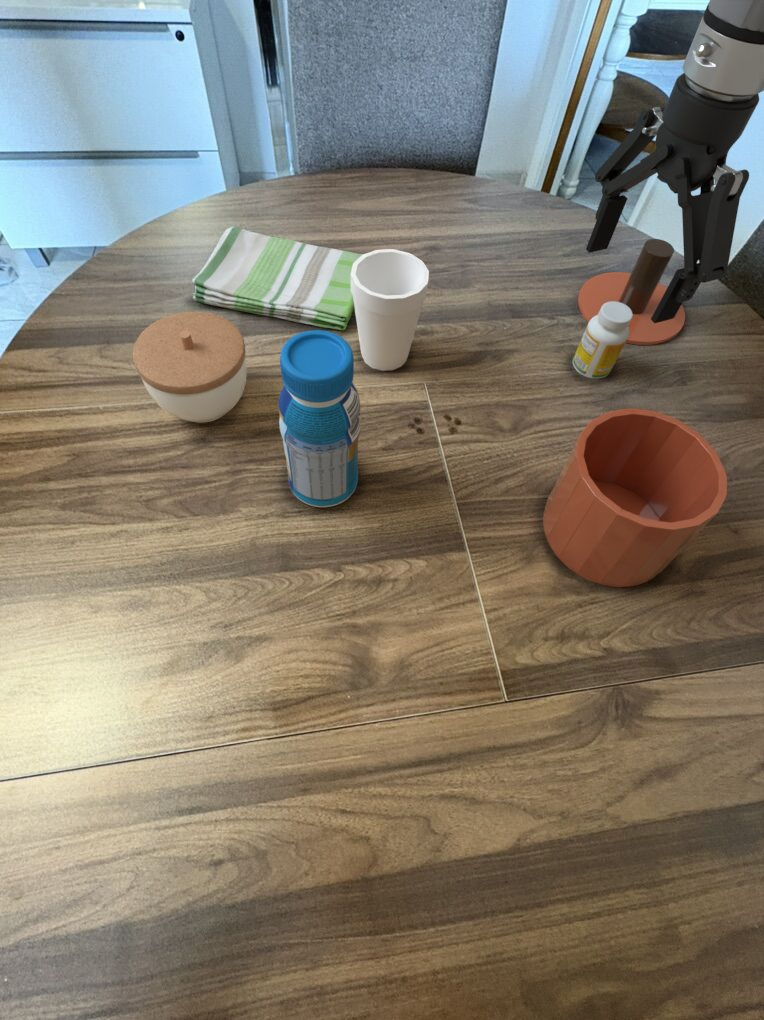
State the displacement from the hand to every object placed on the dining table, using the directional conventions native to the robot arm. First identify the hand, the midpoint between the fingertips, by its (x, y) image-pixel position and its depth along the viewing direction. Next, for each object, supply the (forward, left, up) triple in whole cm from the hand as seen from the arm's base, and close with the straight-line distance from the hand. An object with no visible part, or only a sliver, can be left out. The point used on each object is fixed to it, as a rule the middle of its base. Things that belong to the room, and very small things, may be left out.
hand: (627, 282), depth 73 cm
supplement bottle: (0, 0, -14) cm, 14 cm away
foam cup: (+26, -12, -14) cm, 32 cm away
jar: (+13, +23, -14) cm, 30 cm away
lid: (-12, -8, -13) cm, 20 cm away
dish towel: (+34, -31, -14) cm, 48 cm away
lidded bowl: (+51, -12, -14) cm, 54 cm away
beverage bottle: (+41, +5, -14) cm, 43 cm away
